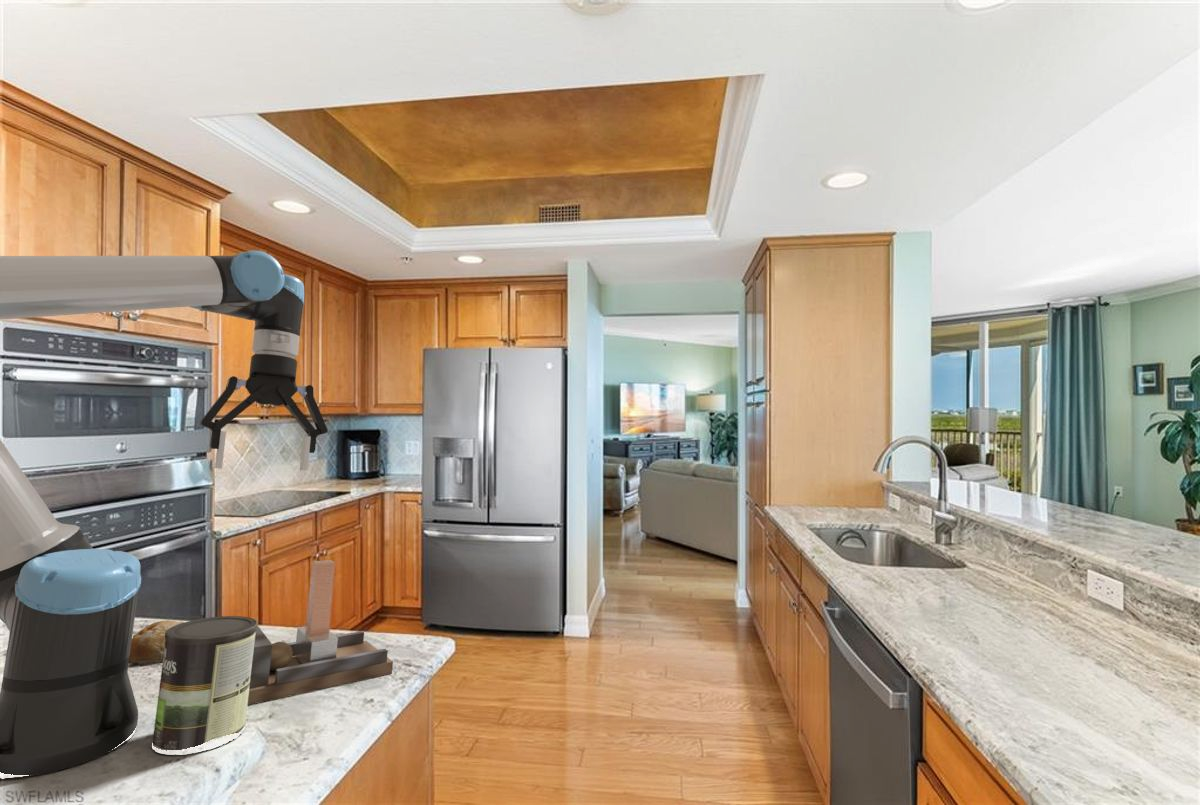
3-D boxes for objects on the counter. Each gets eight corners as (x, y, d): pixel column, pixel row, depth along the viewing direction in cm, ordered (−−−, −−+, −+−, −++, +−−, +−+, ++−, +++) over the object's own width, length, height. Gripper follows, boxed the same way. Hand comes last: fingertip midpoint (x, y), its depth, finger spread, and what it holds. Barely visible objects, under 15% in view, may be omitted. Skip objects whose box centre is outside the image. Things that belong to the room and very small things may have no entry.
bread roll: (142, 689, 94) (164, 647, 94) (103, 656, 97) (124, 616, 97) (195, 669, 104) (214, 631, 104) (158, 640, 106) (177, 603, 106)
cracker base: (245, 705, 81) (251, 649, 82) (231, 676, 92) (236, 627, 93) (391, 673, 96) (395, 626, 97) (365, 651, 106) (368, 608, 107)
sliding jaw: (309, 672, 89) (319, 567, 91) (294, 654, 96) (304, 558, 98) (335, 667, 92) (344, 565, 94) (319, 650, 99) (327, 556, 101)
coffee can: (151, 766, 65) (166, 643, 67) (150, 731, 73) (164, 622, 75) (252, 740, 72) (263, 629, 73) (241, 712, 79) (252, 612, 81)
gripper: (195, 341, 92) (179, 467, 89) (350, 364, 108) (340, 471, 106) (191, 347, 97) (176, 466, 95) (339, 368, 114) (329, 470, 111)
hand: (262, 469), depth 100 cm, fingers open, 13 cm apart
